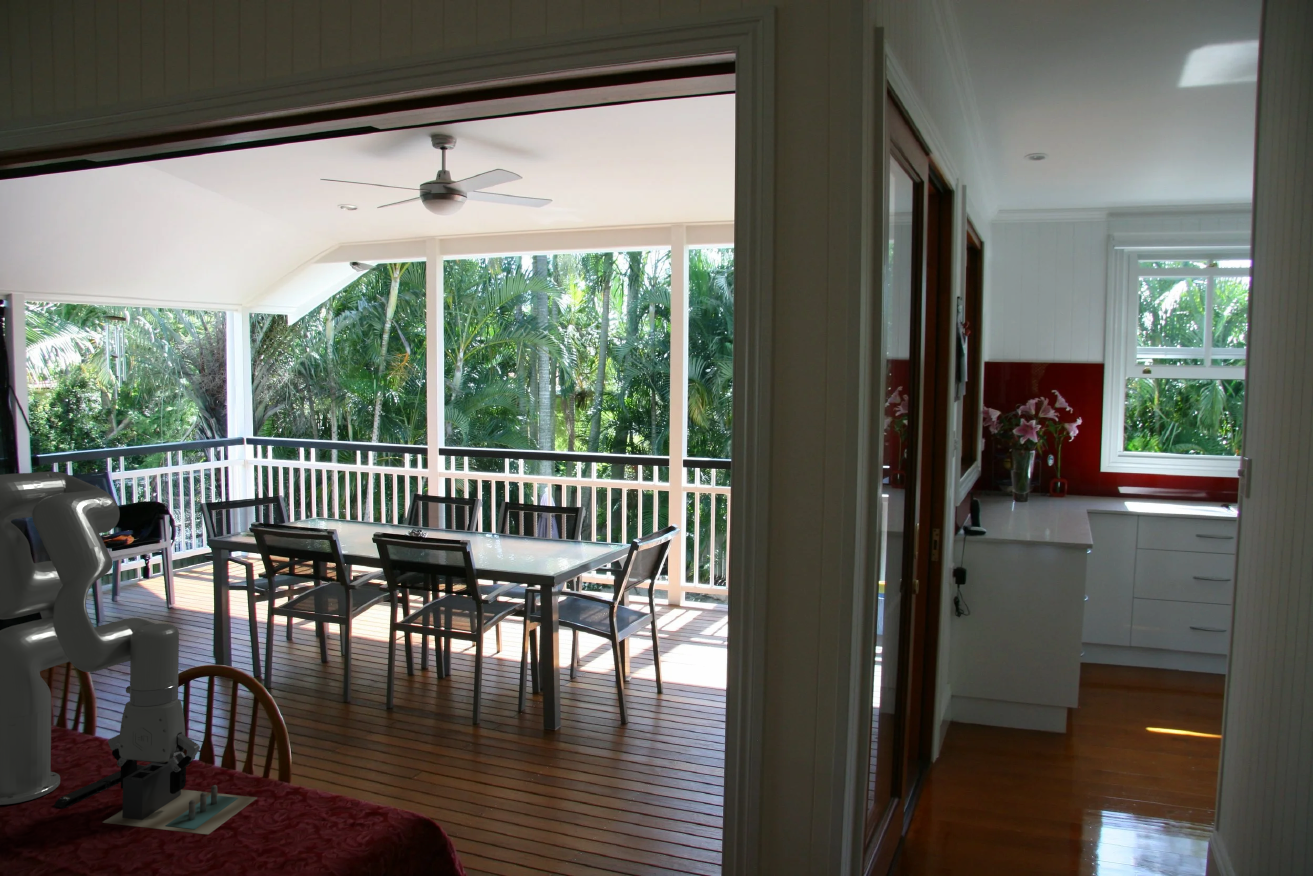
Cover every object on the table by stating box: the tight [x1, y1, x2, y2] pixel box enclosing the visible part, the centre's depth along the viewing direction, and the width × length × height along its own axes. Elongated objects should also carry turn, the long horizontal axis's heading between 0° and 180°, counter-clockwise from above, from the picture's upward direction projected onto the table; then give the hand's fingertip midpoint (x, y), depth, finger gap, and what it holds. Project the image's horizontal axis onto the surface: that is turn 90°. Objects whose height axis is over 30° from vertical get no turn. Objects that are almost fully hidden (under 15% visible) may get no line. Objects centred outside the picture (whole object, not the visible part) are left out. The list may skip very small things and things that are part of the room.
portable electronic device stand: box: [53, 763, 145, 810], centre depth 161 cm, size 18×3×3 cm, turn 163°
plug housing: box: [122, 757, 181, 820], centre depth 154 cm, size 10×4×7 cm, turn 172°
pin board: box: [102, 784, 258, 835], centre depth 153 cm, size 20×14×5 cm
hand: (153, 788), depth 154 cm, fingers open, 9 cm apart
